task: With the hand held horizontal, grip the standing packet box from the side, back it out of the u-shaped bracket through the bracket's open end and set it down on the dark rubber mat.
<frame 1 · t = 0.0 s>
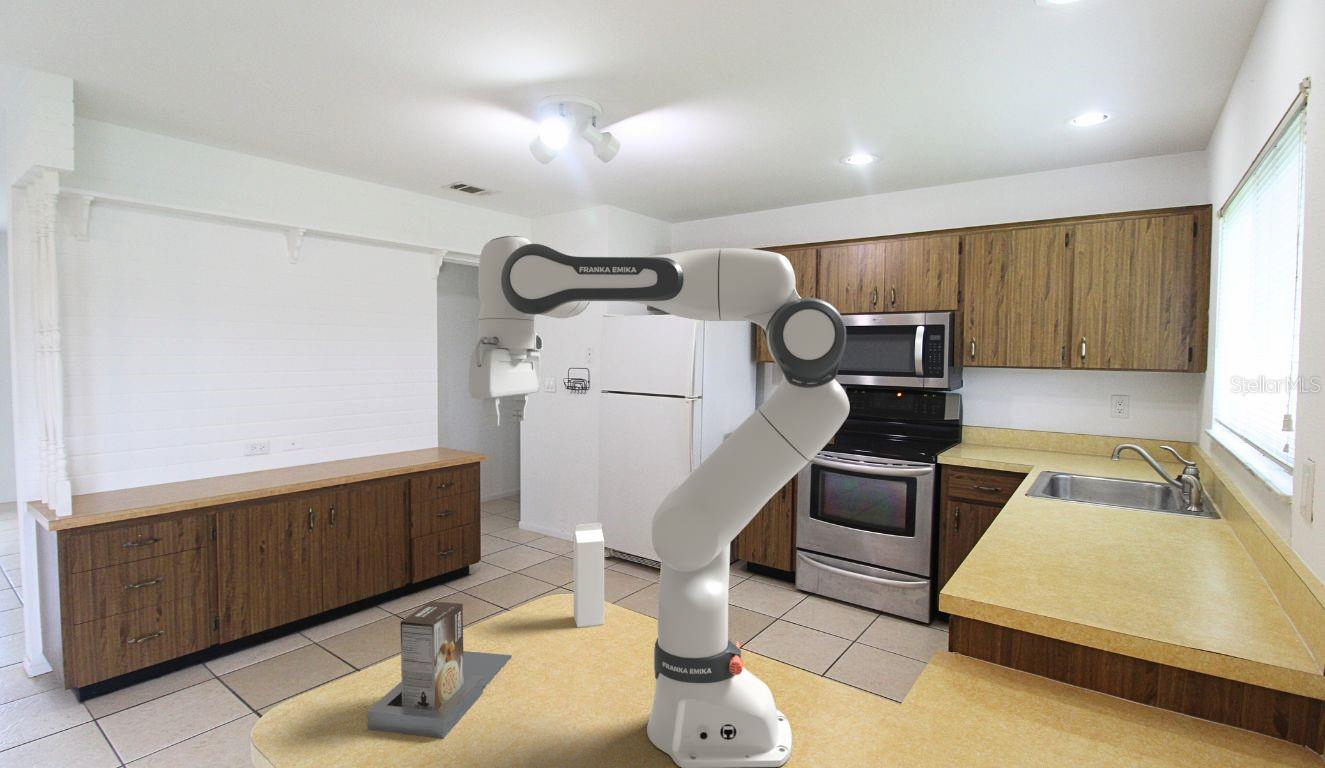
hand: (506, 423, 102), 48 cm above the table, tool pointing down, fingers open, 8 cm apart
rubber mat: (468, 669, 118), on the table
u-shaped bracket: (433, 704, 106), on the table
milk: (588, 621, 141), on the table
coffee box: (433, 706, 106), on the table
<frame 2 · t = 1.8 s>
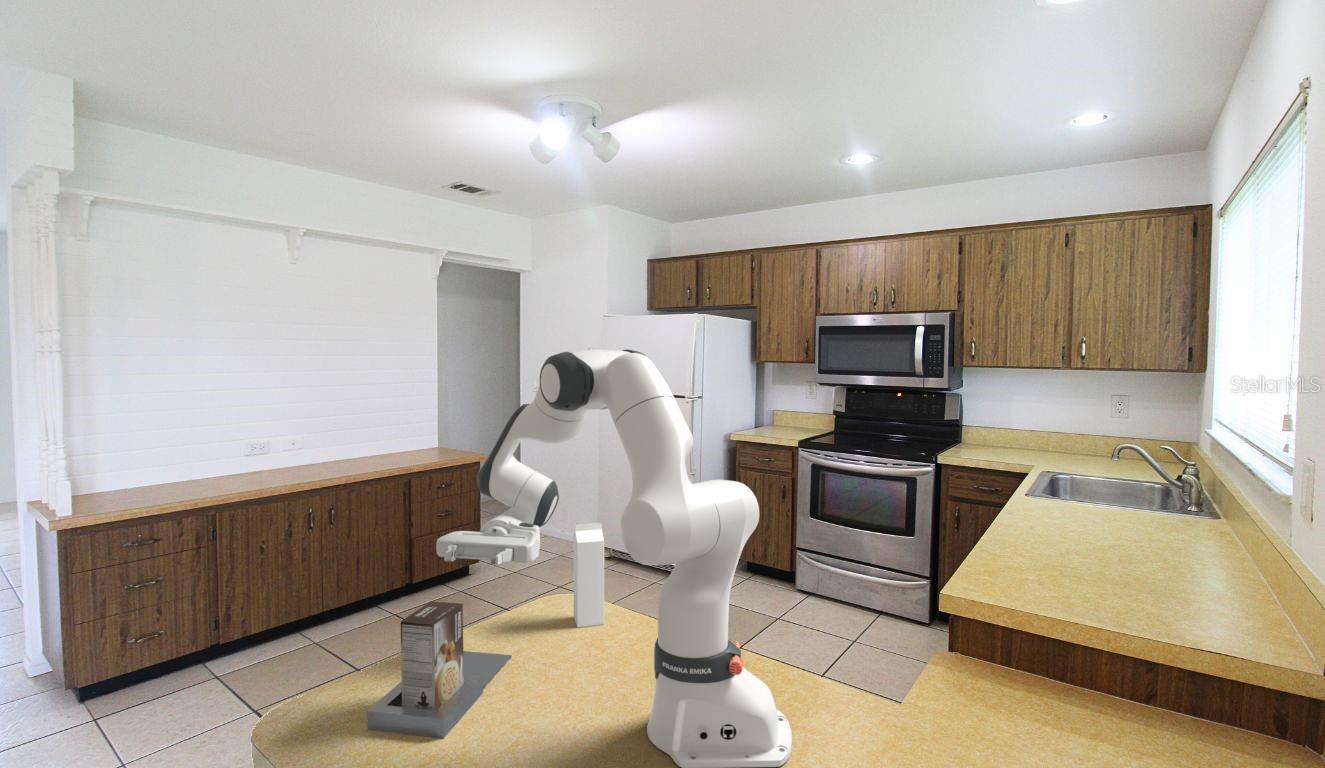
hand: (470, 559, 119), 21 cm above the table, tool horizontal, fingers open, 8 cm apart
nothing on the table moved.
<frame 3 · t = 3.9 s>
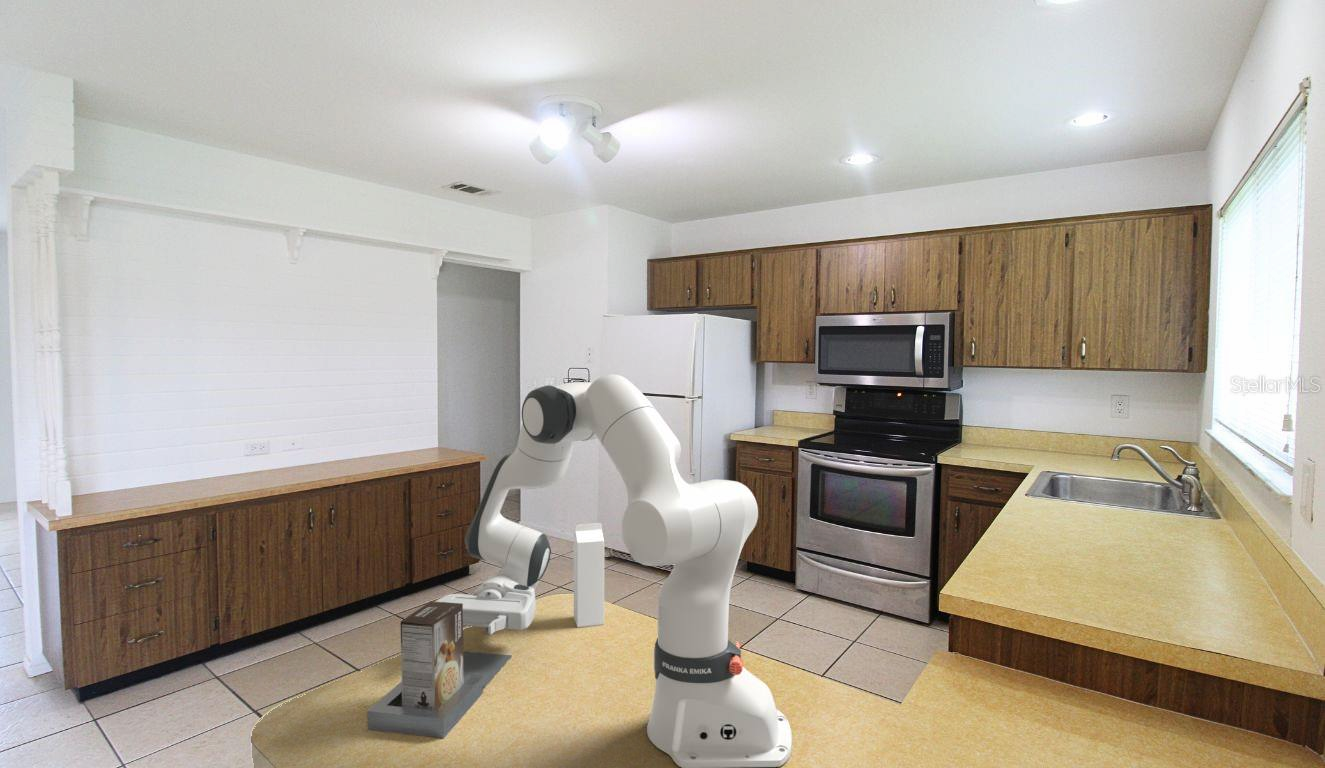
hand: (463, 628, 116), 9 cm above the table, tool horizontal, fingers open, 8 cm apart
nothing on the table moved.
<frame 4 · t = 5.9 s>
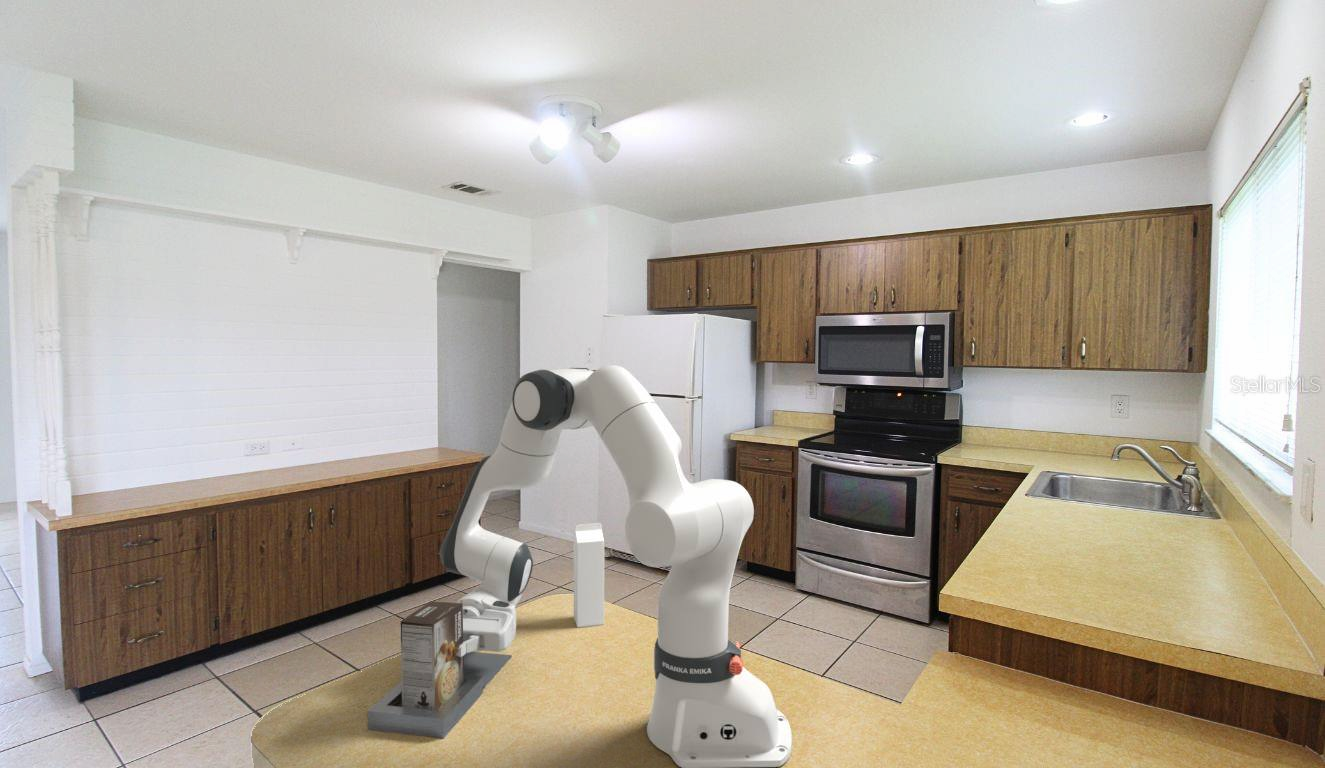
hand: (435, 650, 106), 9 cm above the table, tool horizontal, fingers closed on coffee box, 6 cm apart
coffee box: (433, 705, 106), on the table, touching gripper
everything else where it was.
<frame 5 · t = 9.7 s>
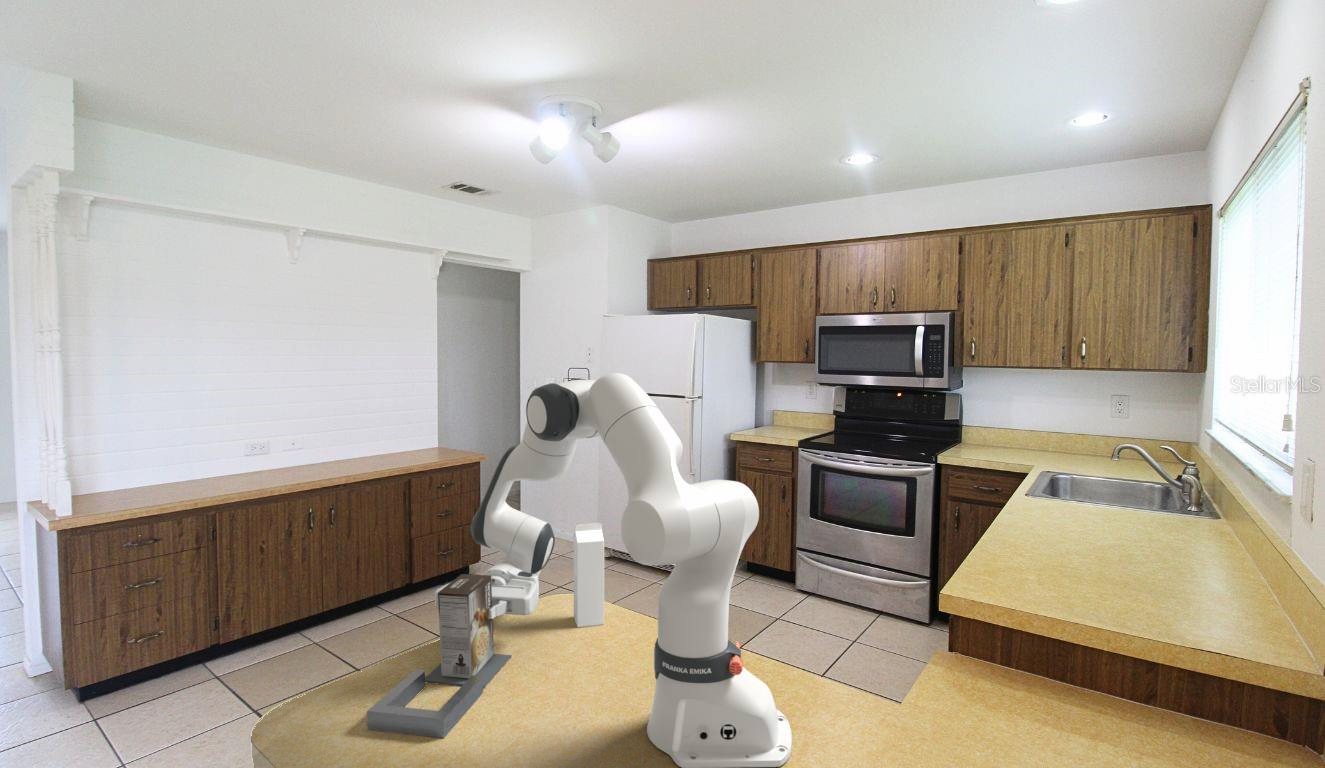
hand: (468, 613, 118), 11 cm above the table, tool horizontal, fingers closed on coffee box, 6 cm apart
coffee box: (468, 666, 118), point 1 cm above the table, touching gripper
everything else where it was.
when the fingers open (10 cm above the table, at t = 10.4 s): coffee box stays where it is, resting on rubber mat.
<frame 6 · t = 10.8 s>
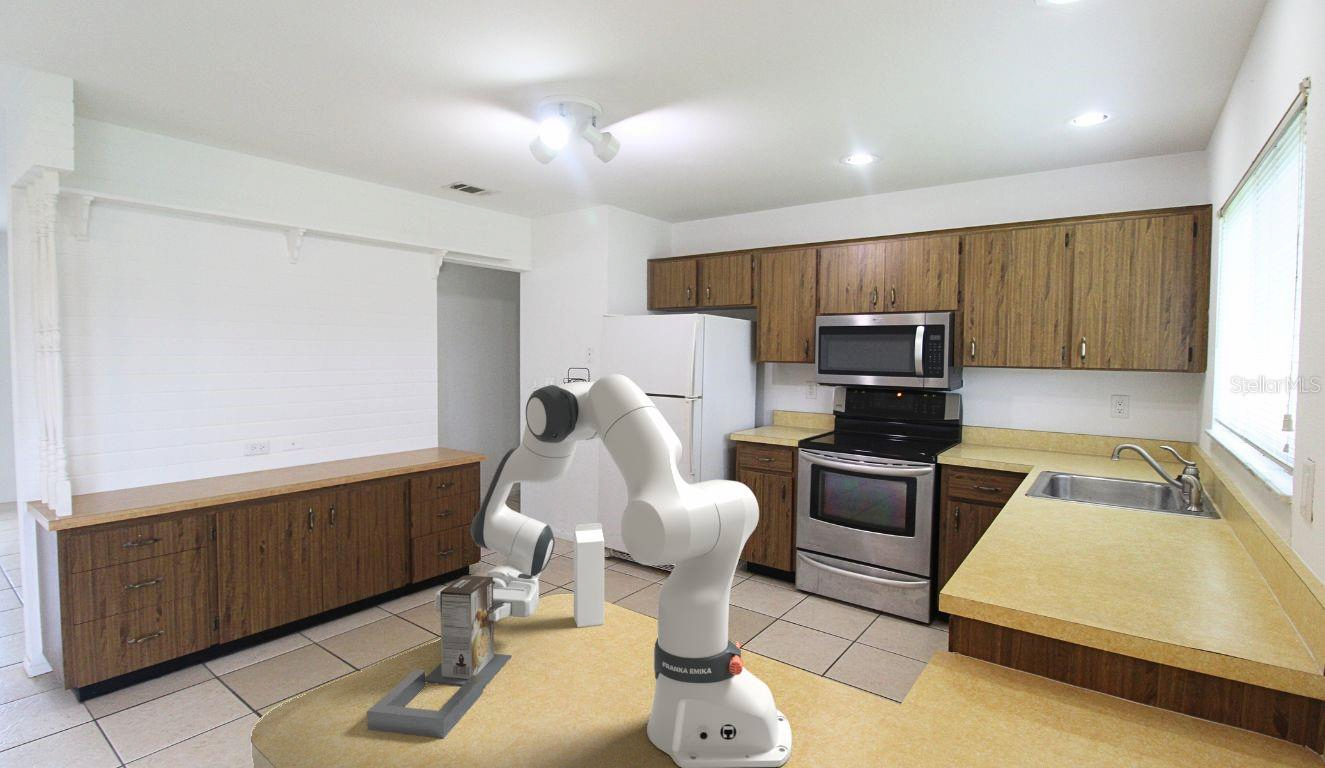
hand: (468, 615, 118), 10 cm above the table, tool horizontal, fingers open, 8 cm apart
coffee box: (468, 668, 118), resting on rubber mat
everything else where it was.
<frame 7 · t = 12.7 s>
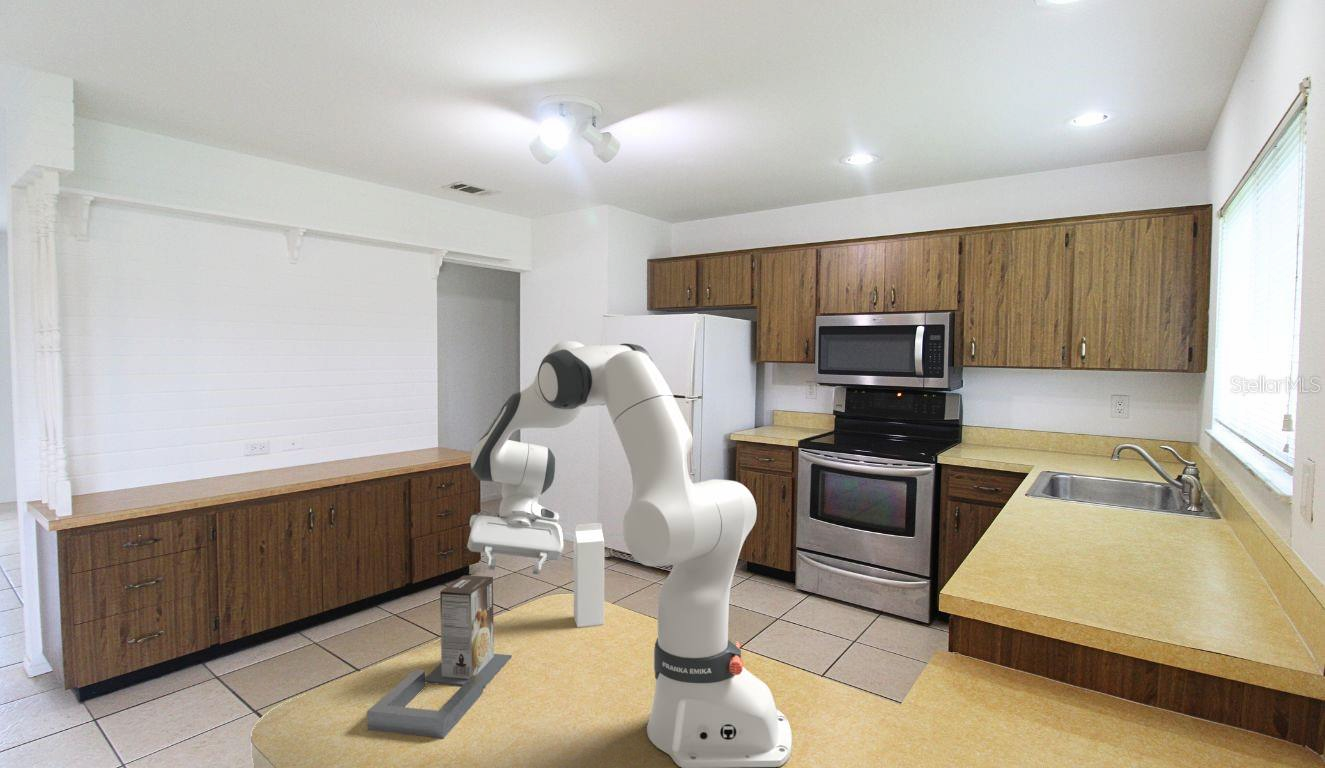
hand: (514, 570, 131), 15 cm above the table, tool tilted 55°, fingers open, 8 cm apart
nothing on the table moved.
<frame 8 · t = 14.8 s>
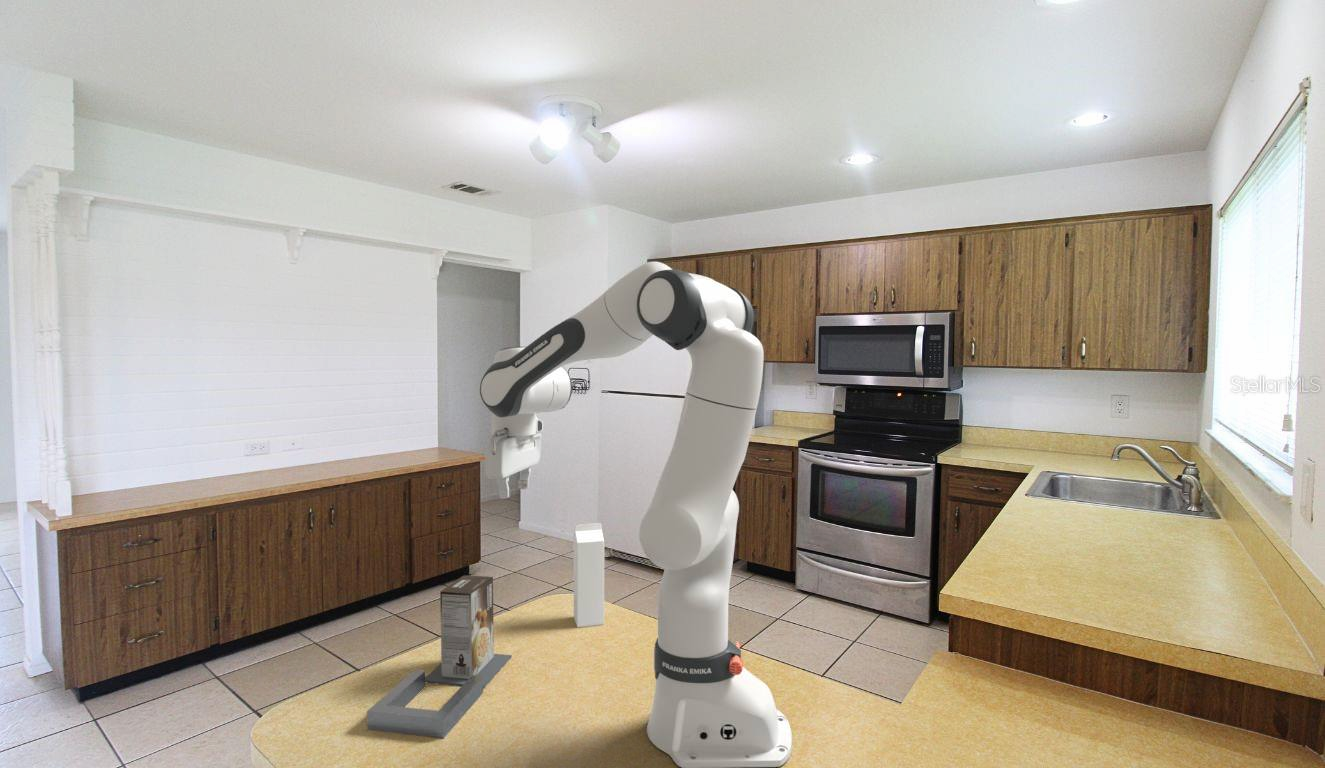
hand: (514, 493, 129), 31 cm above the table, tool pointing down, fingers open, 8 cm apart
nothing on the table moved.
at the end: coffee box inside the target area on the rubber mat (0.1 cm from its centre), point 0.2 cm above the rubber mat's base; coffee box tilted 0°; the gripper is holding nothing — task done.
